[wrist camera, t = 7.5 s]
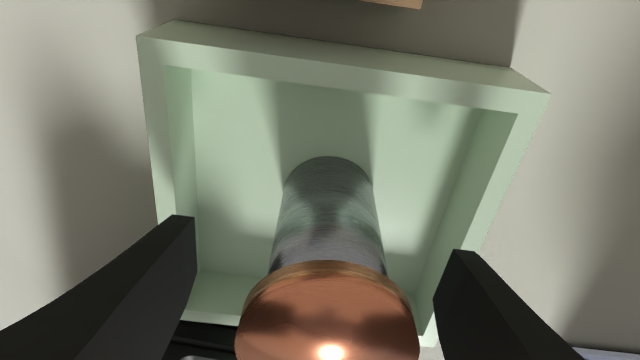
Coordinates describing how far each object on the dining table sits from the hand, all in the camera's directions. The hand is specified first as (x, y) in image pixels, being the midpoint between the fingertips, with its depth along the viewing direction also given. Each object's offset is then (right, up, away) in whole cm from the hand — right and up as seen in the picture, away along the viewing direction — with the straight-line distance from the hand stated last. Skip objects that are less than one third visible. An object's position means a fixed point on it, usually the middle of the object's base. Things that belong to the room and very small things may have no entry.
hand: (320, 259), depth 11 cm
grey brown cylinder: (0, +2, +3) cm, 3 cm away
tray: (0, +2, +3) cm, 4 cm away
